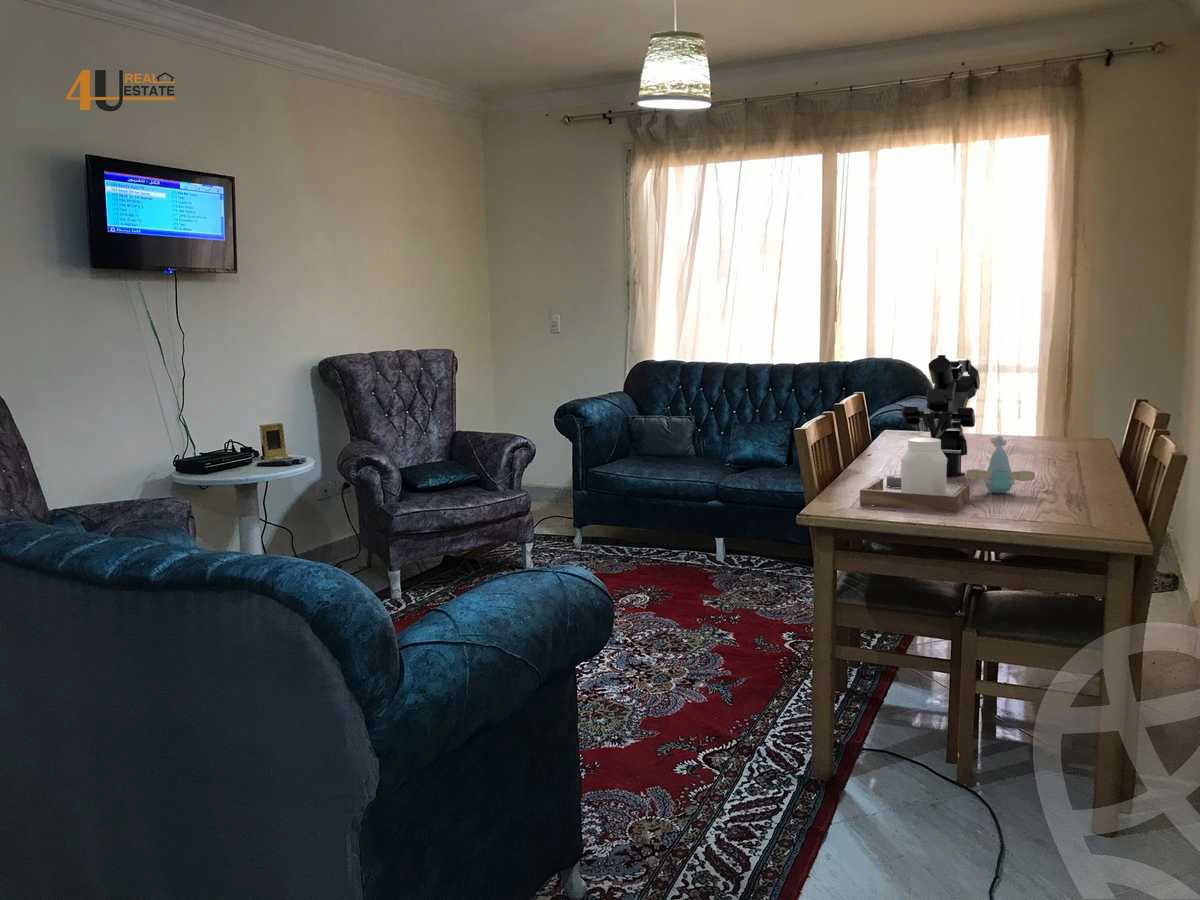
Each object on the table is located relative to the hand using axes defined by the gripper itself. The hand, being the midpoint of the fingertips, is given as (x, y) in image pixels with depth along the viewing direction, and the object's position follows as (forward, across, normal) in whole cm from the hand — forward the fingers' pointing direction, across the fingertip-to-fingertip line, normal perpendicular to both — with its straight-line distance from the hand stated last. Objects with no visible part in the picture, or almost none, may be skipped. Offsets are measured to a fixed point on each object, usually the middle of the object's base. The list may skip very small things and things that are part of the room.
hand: (933, 440), depth 259 cm
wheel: (+9, -9, +10) cm, 16 cm away
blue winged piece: (+10, +17, +9) cm, 22 cm away
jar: (+17, 0, +2) cm, 17 cm away
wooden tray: (+23, 0, -5) cm, 24 cm away
